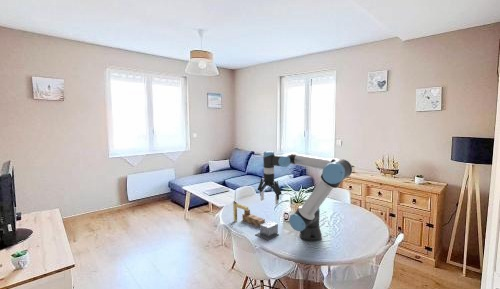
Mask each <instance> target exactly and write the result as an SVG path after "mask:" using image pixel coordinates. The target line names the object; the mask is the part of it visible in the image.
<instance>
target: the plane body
mask: <svg viewBox="0 0 500 289" xmlns="http://www.w3.org/2000/svg"><path fill="white" fill-rule="evenodd" d="M243 212H244V213H243V214H242V216H241V217H242V221H244V222H246V223H248V224H250V225H253V226H255V227H258V228H260V225H261V224H263V223H265V221H266V220H265V219H264V218H262V217H259V216H257V215H254V214H251V209H249V208H248V211H246V210H243Z"/></svg>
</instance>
